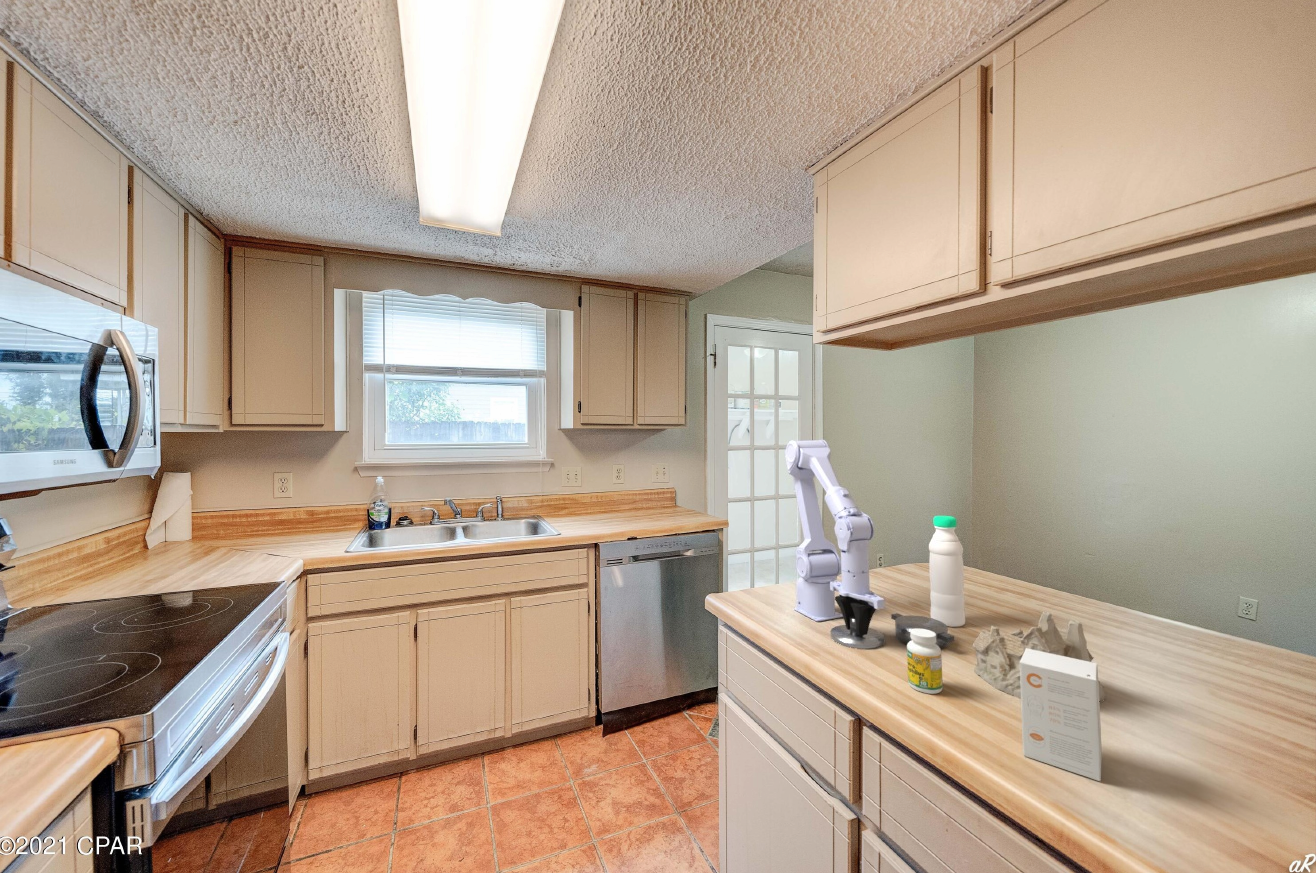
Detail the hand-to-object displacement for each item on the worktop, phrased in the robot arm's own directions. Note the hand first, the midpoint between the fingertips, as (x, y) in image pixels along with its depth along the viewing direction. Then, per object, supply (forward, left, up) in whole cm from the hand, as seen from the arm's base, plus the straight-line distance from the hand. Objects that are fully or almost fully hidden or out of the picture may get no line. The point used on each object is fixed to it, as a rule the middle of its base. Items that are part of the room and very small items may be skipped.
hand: (856, 631), depth 107 cm
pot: (+6, +12, -2) cm, 14 cm away
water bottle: (+1, +26, -2) cm, 26 cm away
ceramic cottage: (+28, +15, -2) cm, 31 cm away
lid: (0, 0, -2) cm, 2 cm away
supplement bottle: (+21, -4, -2) cm, 21 cm away
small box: (+42, -3, -2) cm, 42 cm away
